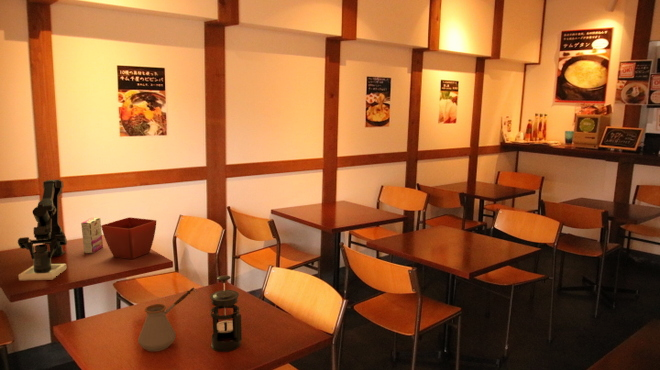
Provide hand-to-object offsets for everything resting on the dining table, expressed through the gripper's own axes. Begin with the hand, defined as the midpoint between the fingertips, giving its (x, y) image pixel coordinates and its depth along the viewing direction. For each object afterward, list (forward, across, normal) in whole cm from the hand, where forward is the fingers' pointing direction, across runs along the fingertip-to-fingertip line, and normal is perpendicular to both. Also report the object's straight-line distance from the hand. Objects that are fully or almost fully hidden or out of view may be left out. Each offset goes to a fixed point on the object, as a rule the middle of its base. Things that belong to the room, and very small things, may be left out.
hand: (41, 258), depth 218 cm
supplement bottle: (+4, 0, +6) cm, 7 cm away
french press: (+70, +69, -60) cm, 115 cm away
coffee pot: (+63, +52, -53) cm, 98 cm away
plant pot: (-8, +36, +20) cm, 42 cm away
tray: (+5, 0, +6) cm, 8 cm away
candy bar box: (-18, +17, +30) cm, 39 cm away
